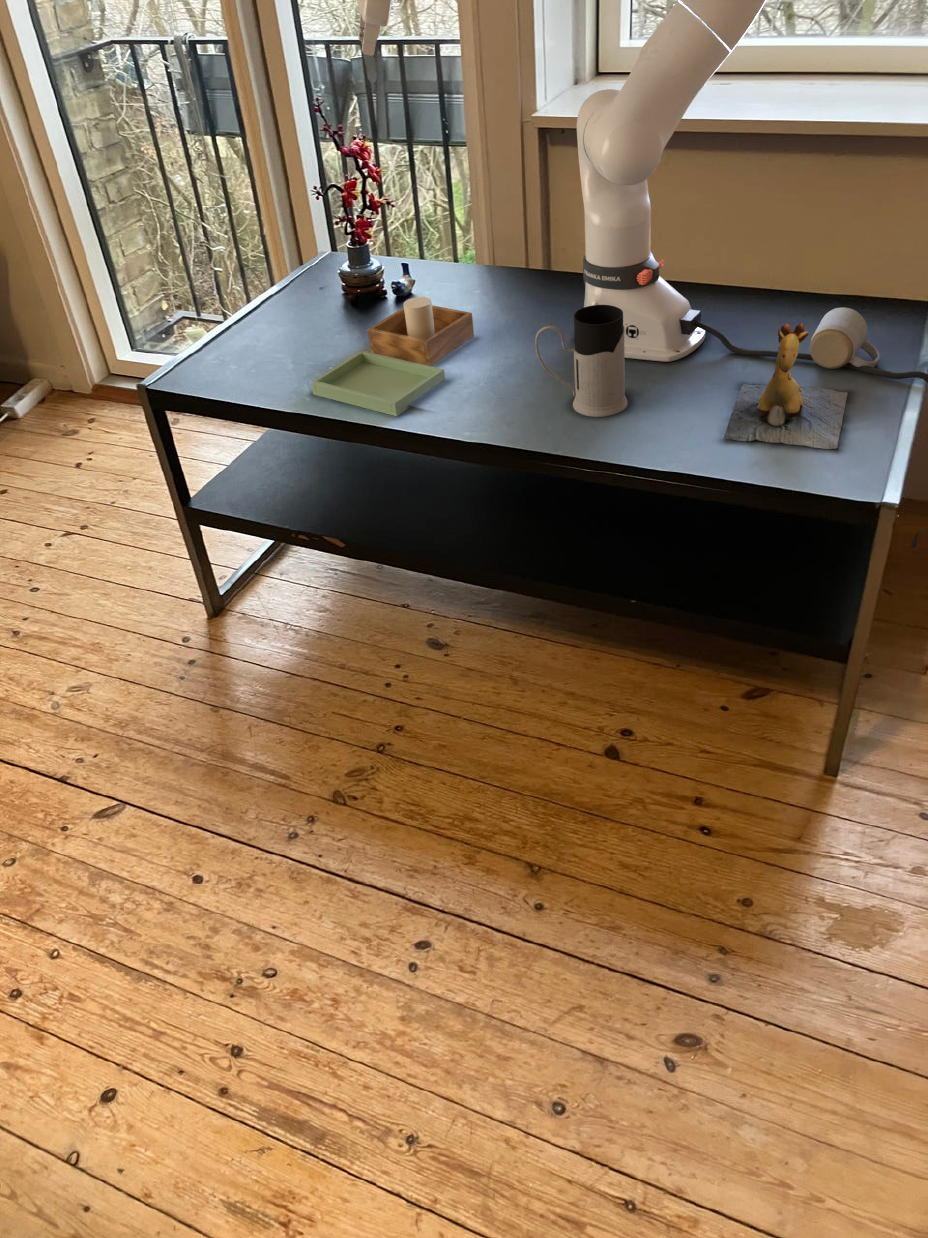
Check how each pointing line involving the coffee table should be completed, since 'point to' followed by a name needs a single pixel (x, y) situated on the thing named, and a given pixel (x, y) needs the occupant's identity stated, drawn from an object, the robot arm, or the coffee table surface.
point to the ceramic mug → (841, 340)
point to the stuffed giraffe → (787, 405)
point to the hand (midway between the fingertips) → (365, 47)
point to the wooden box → (397, 344)
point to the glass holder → (596, 360)
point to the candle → (419, 317)
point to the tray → (377, 382)
